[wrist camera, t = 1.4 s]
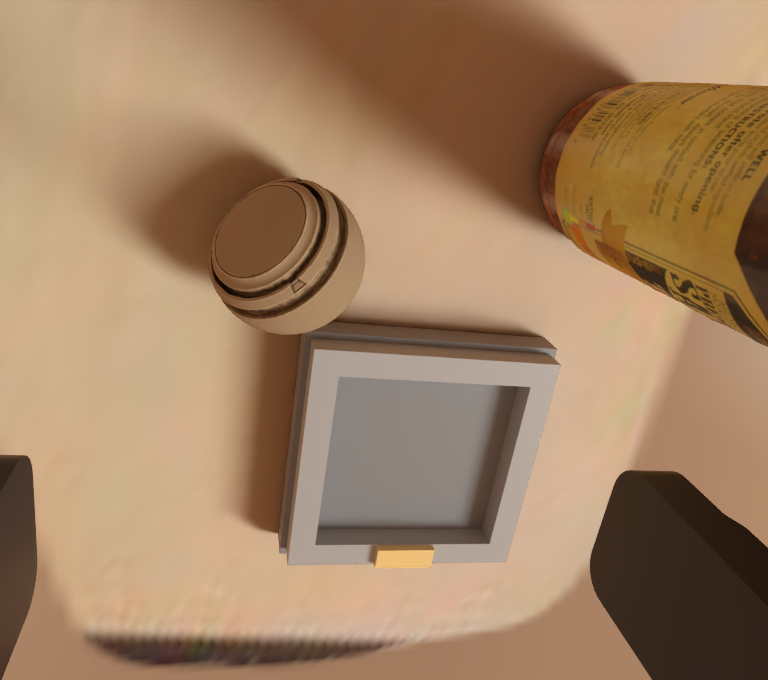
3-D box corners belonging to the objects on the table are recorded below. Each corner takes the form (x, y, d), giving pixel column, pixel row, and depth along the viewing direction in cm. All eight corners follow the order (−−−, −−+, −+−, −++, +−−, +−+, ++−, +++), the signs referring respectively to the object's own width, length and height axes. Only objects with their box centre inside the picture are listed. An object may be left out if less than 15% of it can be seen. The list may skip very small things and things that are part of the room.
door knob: (360, 175, 23) (388, 203, 18) (344, 308, 25) (366, 363, 20) (214, 159, 22) (207, 184, 17) (209, 299, 23) (200, 355, 19)
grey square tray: (302, 319, 24) (308, 345, 22) (544, 337, 27) (571, 362, 24) (278, 534, 28) (281, 575, 26) (492, 533, 30) (512, 571, 28)
